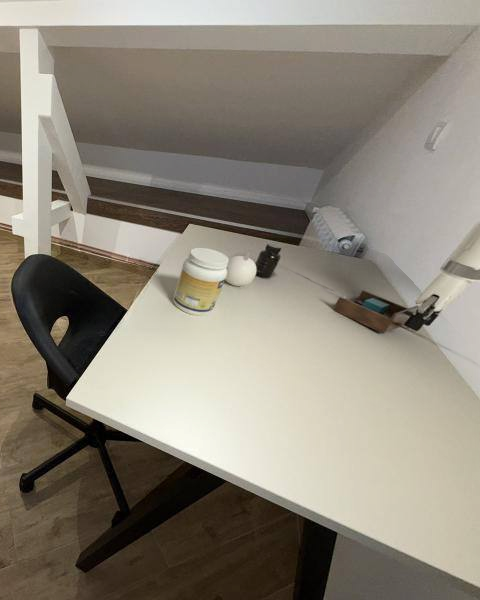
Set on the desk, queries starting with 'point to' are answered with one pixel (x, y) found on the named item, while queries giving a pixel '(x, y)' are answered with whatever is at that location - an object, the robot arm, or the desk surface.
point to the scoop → (375, 313)
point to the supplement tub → (200, 281)
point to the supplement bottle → (268, 260)
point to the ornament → (240, 270)
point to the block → (375, 305)
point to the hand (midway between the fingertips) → (416, 325)
